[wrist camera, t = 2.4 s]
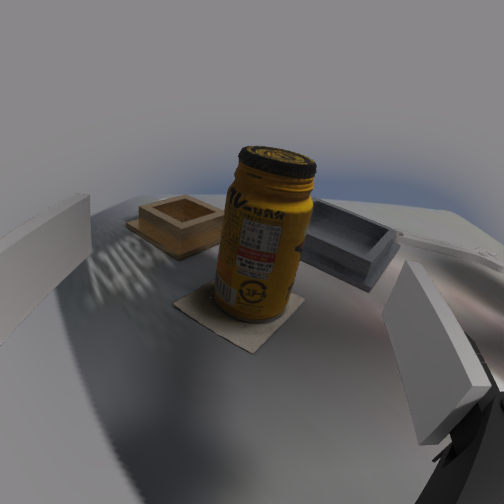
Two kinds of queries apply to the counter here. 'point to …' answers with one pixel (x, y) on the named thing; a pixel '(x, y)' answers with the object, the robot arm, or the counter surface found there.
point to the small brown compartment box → (179, 225)
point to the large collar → (348, 245)
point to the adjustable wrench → (451, 249)
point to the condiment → (258, 248)
